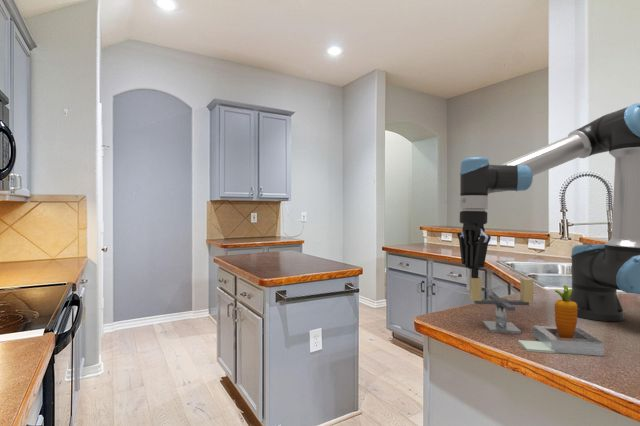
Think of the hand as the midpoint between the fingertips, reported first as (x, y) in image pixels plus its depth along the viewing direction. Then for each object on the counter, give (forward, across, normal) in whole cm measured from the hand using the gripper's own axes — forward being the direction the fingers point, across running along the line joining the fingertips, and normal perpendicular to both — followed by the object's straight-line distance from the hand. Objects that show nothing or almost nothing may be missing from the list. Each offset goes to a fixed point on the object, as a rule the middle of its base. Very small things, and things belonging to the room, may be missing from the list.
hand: (472, 290), depth 104 cm
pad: (+10, +18, +6) cm, 22 cm away
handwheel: (+4, +4, +7) cm, 9 cm away
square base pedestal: (+11, +4, +7) cm, 13 cm away
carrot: (+10, +18, +14) cm, 25 cm away
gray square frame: (+10, +18, +14) cm, 25 cm away
